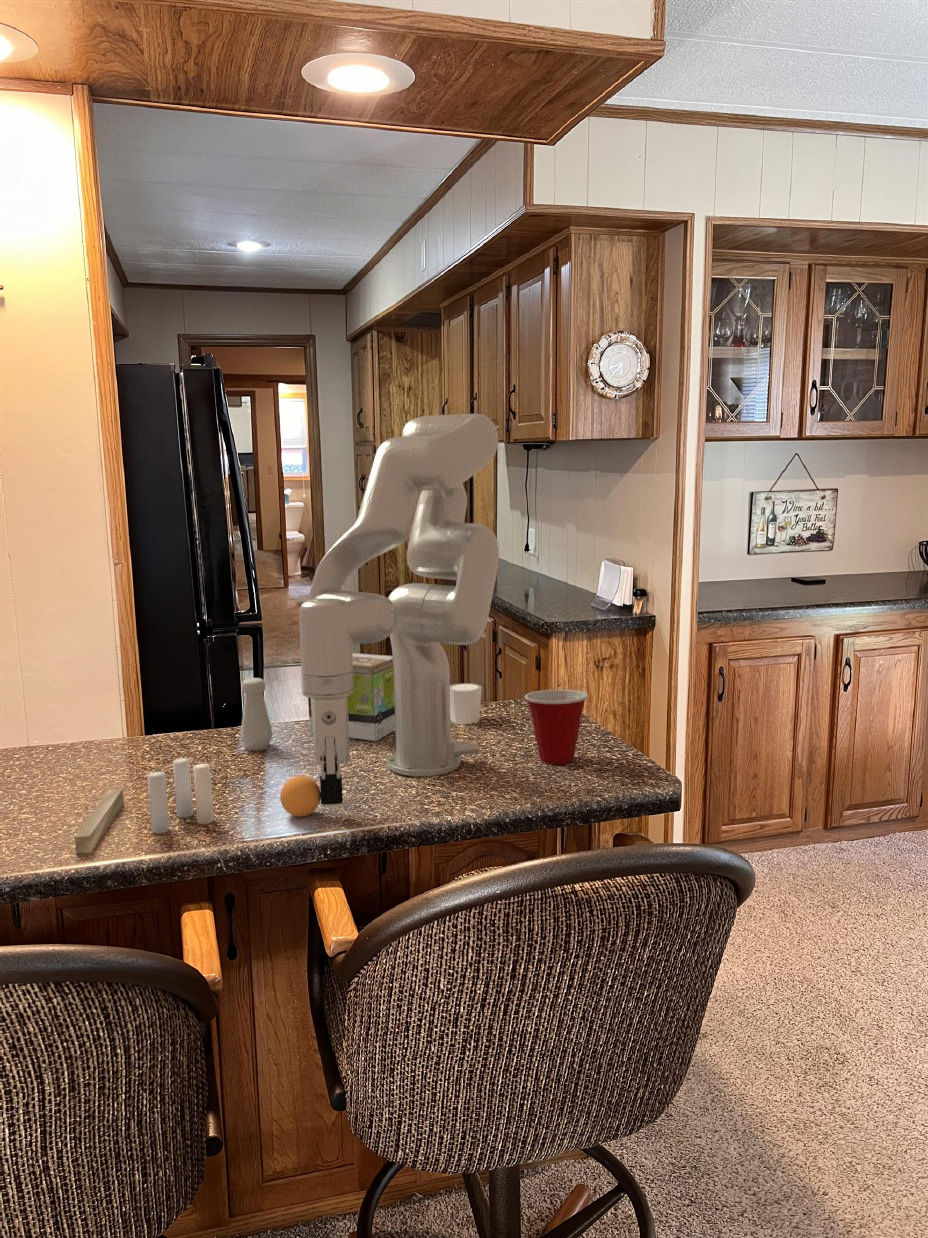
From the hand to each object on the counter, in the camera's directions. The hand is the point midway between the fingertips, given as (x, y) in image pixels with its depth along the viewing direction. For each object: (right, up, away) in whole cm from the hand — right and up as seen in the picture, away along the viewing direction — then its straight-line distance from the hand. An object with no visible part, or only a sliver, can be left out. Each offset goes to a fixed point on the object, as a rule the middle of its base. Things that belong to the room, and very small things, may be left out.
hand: (331, 802), depth 138 cm
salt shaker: (-19, +3, +33) cm, 38 cm away
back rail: (-34, -3, -3) cm, 34 cm away
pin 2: (-22, -2, +2) cm, 23 cm away
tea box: (-1, +5, +42) cm, 42 cm away
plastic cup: (+36, +3, +23) cm, 43 cm away
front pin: (-19, -3, -1) cm, 19 cm away
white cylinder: (+20, +7, +47) cm, 51 cm away
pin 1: (-24, -3, -4) cm, 25 cm away
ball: (-5, +1, 0) cm, 5 cm away
